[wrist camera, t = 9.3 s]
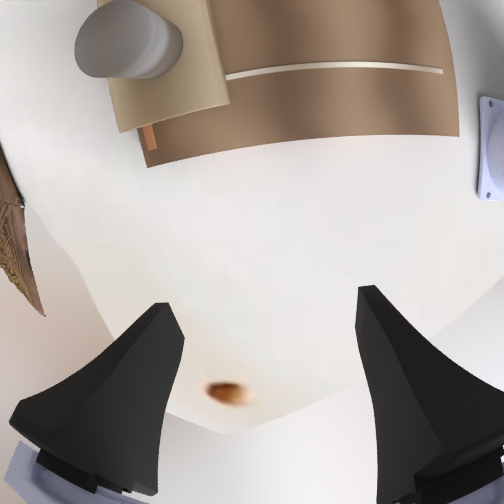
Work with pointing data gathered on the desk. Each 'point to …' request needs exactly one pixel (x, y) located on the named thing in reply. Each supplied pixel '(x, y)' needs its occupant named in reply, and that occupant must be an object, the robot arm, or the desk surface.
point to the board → (319, 76)
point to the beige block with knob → (154, 58)
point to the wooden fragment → (15, 240)
